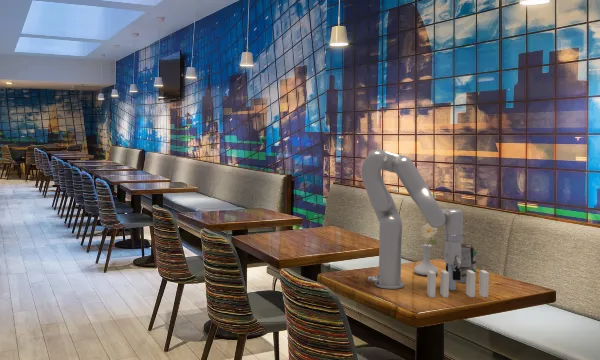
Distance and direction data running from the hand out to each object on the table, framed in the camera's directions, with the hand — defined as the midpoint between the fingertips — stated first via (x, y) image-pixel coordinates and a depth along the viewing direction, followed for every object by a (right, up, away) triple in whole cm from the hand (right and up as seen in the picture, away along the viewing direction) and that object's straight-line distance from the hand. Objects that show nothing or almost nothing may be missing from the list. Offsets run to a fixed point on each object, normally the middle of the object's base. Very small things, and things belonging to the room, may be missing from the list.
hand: (452, 277), depth 255 cm
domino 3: (-1, -5, 0) cm, 5 cm away
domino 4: (+5, -6, -10) cm, 13 cm away
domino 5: (+10, -6, -10) cm, 15 cm away
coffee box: (+9, -4, +14) cm, 17 cm away
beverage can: (+14, -3, +28) cm, 32 cm away
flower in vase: (-6, -3, +25) cm, 26 cm away
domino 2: (-6, -6, -11) cm, 14 cm away
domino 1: (-12, -6, -11) cm, 17 cm away
